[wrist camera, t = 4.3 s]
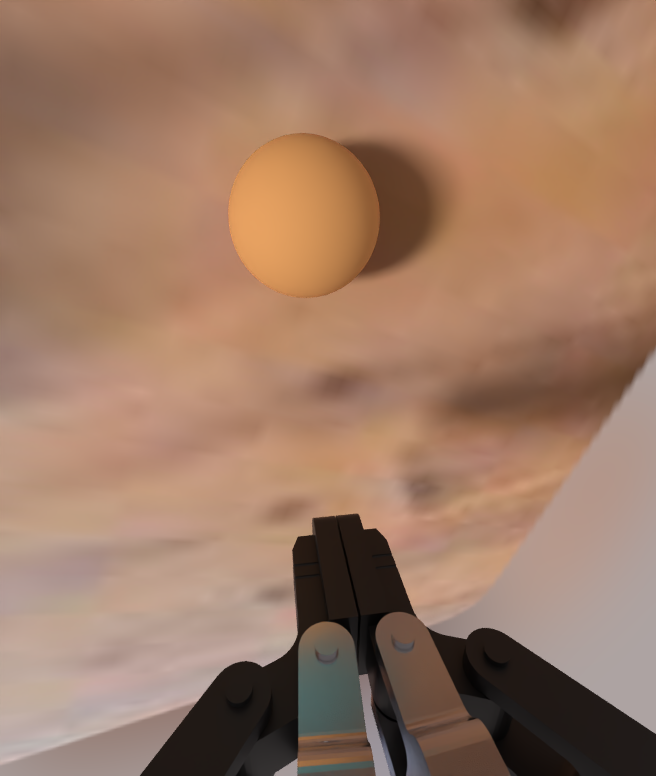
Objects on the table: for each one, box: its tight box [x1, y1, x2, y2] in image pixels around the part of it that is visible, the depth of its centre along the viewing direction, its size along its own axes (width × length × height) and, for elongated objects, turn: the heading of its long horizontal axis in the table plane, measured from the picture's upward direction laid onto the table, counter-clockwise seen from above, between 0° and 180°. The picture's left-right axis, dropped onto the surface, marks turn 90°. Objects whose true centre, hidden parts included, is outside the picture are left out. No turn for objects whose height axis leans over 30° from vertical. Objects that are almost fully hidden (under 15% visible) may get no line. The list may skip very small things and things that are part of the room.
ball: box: [228, 133, 380, 298], centre depth 13 cm, size 5×5×5 cm
